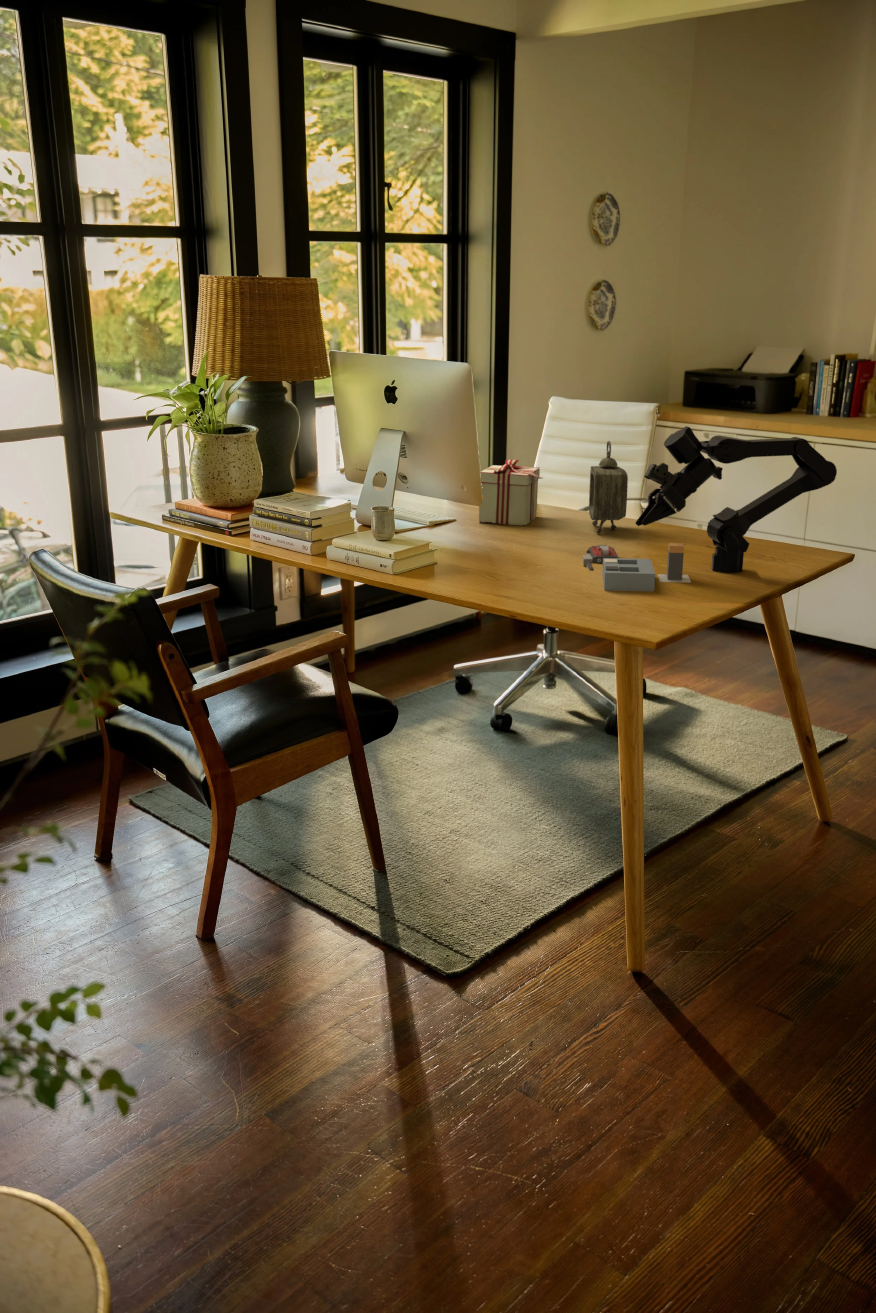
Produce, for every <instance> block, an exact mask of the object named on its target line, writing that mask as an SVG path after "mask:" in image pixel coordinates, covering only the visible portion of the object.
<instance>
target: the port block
mask: <svg viewBox="0 0 876 1313" xmlns="http://www.w3.org/2000/svg"><path fill="white" fill-rule="evenodd" d="M601 575H602V582H603V589H604V591H613V592H614V591H616V592H617V591H619V592H621V591H622V592H624V591H625V592H655V585H656V584H655V582H656V571H655V569H654V566H653V562H652V560H651V558H620V557H619V558H603V563H602V574H601Z"/></svg>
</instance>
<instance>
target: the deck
mask: <svg viewBox="0 0 876 1313" xmlns="http://www.w3.org/2000/svg"><path fill="white" fill-rule="evenodd" d="M657 576H658V580H659V582H660V583H690V584H691V583H692V581H691V579H690V576H689V574H682V580H668V579H667V573H664V574H663V573H659V574H658V573H657Z"/></svg>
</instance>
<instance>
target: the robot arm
mask: <svg viewBox="0 0 876 1313" xmlns="http://www.w3.org/2000/svg"><path fill="white" fill-rule="evenodd" d="M663 446H664V447H665V448H666V450H667V451H668V452H669V454H670V455H671V456H672V457H673V459H674V460H675V461H676V462H677V464H679V465H680V464H684V465H685V466H684V467H683V468H682V469H681V470H680V471H677V472H674V473H672V472H671V471H670V470H669V465H668V464H667V463H665V462H661V463H660V464H658V465H657V464H656V463H655V464H654V463H651V464H649V466H648V468H647V470H646V472H645V474H644V479H647V480H651V481H653V482H655V483H656V484H658V485H660V486H659V488H654V489H653V490H652V491H650V492H649V494H648V495H647V505H646V507H645V509H644V510H643V511H642V513H641V514H640V516H639V517H638V518H637V520H636V521H635V525H636V526H637V527H640V526H647V525H649V524H653V523H655V522H657V521H660V520H662V519H665V518H668V517H670V516H673V515H677V513H680V512H681V511H682V510H683V509H684V508H685V507H686V505H687V504H686V503H687V499H688V498H689V497H690V496H691V495H692V494H695V493H696V492H697V491H698V489H699V488H700V487H701V486H702V485H703V484H705V483H706V481H708V480H709V479H710V478H711V477H713V478H714V479H717V480H720V481H721V480H722V479H723V467H721V466H720V465H719V466H717V465H716V464H715V462H718V463H721V464H725V465H727V464H732V463H736V462H741V461H744V460H746V459H748V458H759V457H760V458H761V457H763V458H765V457H785V456H786V457H788V456H791V457H792V459H793V461H794V462H795V464H796V465H797V468H796V469H795V470H794V472H793V474H792V475H791V476H790V477H789V478H788V479H786V480H784V481H783V482H781V483H779V484H778V485H777V486H775V487H773V488H772V489H770V490H769V491H767V492H765V493H763V494H762V495H760V496H758V497H757V498H756V499H754V500H753V501H750V502H749V503H747V504H746V505H745V506H743V507H741V508H739V509H733V508H731V507H729V506H727V507H725V508H723V509H722V510H721V511H720V512H718V513H715V514H713V515H712V517H713V518H711V519H710V520H709V521H708V522H707V527H706V534H707V536H708V537H709V538H710V539H711V540H712V543H713V546H715V548H714V552H713V553H712V555H711V556H712V557H711V558H712V559H711V570H712V572H716V573H722V574H736V573H743V567H744V558H745V557H744V556H745V555H744V553H747V551H748V548H749V547H750V542H748V540H747V539H746V538H745V537H744V536H746V534H747V532H748V531H749V529H750V528H751V526H752V525H754V524H755V523H757V522H759V521H760V520H762V519H764V518H765V517H767V516H768V515H770V514H771V513H773V512H774V511H776V510H778V509H779V508H781V507H783V506H784V505H786V504H788V503H790V502H791V501H792V500H794V499H795V498H797V497H799V496H800V495H802V494H804V493H808V492H813V491H816V490H820V489H822V488H824V487H827V486H829V485H831V484H832V483H833V482H834V481H835V480H837V479H836V478H837V475H838V469H837V466H836V464H835V463H834V462H832V461H830V460H827V459H826V458H825V457H824V456H823V455H822V454H821V453H820V452H819V451H817V450H816V449H815V448H814V447H813V446H812V445H811V444H810V442H809V441H808V440H807V439H805V438H802V437H797V436H793V437H786V438H760V439H759V438H758V439H757V438H756V439H744V438H743V439H742V438H737V437H732V436H728V435H727V436H725V435H714V436H712V437H711V438H710V439H709V440H702V441H701V440H699V439H698V438H697V436H696V434H694V432H693V429H692V428H691V427H690V426H687V425H685V426H684V427H683V428H682V429H679V430H676V431H675V432H674V433H671V434H669V436H668V437H667V438H666V439H665V440H664V443H663ZM703 454H705V455H707V457H705V456H704V455H703ZM714 461H715V462H714Z"/></svg>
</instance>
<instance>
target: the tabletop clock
mask: <svg viewBox="0 0 876 1313" xmlns="http://www.w3.org/2000/svg"><path fill="white" fill-rule="evenodd" d="M611 454H612V443H611V441H610V440H608V441H607V442H606V457H604V458H602V459H601V460H600V461H599V463H598V465H592V466H590V472H589V474H590V475H589V495H588V496H589V498H588V513H589V517H590V519H591V521H592V523H591V525H592V526H593V527H597V526H598V525H599V526H598V528H596V530H595V533H596V534H597V535H600V534H601V533H602V532H603V531H602V527H603V526H604V523H605V522H607V521H610V524H611V525H610V529H611V531H615V530H616V529H617V525H615V523H614V521H620V520H622V519H623V518H626V515H627V504H628V486H629V485H628V484H629V483H628V481H629V478H628V476H629V475H628V472H627V471H626V470H625V469H623V468H622V467H620V466H618V462H617V460H616V459H615V458H613V457H611ZM598 521H600V523H598Z"/></svg>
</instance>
